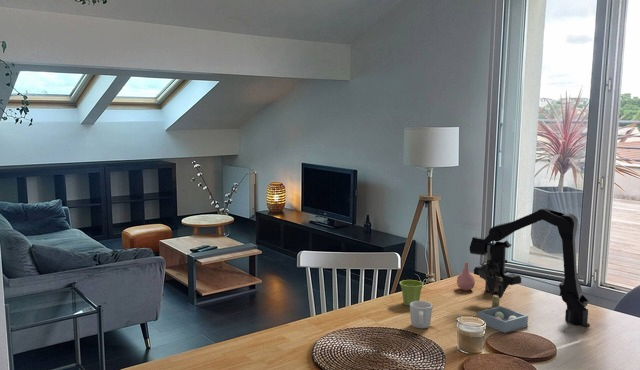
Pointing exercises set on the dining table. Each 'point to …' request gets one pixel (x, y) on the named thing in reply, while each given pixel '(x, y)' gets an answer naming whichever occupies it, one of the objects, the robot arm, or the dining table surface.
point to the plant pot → (411, 291)
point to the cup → (420, 314)
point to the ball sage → (499, 315)
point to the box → (503, 324)
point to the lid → (495, 301)
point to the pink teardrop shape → (465, 279)
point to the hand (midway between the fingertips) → (496, 296)
